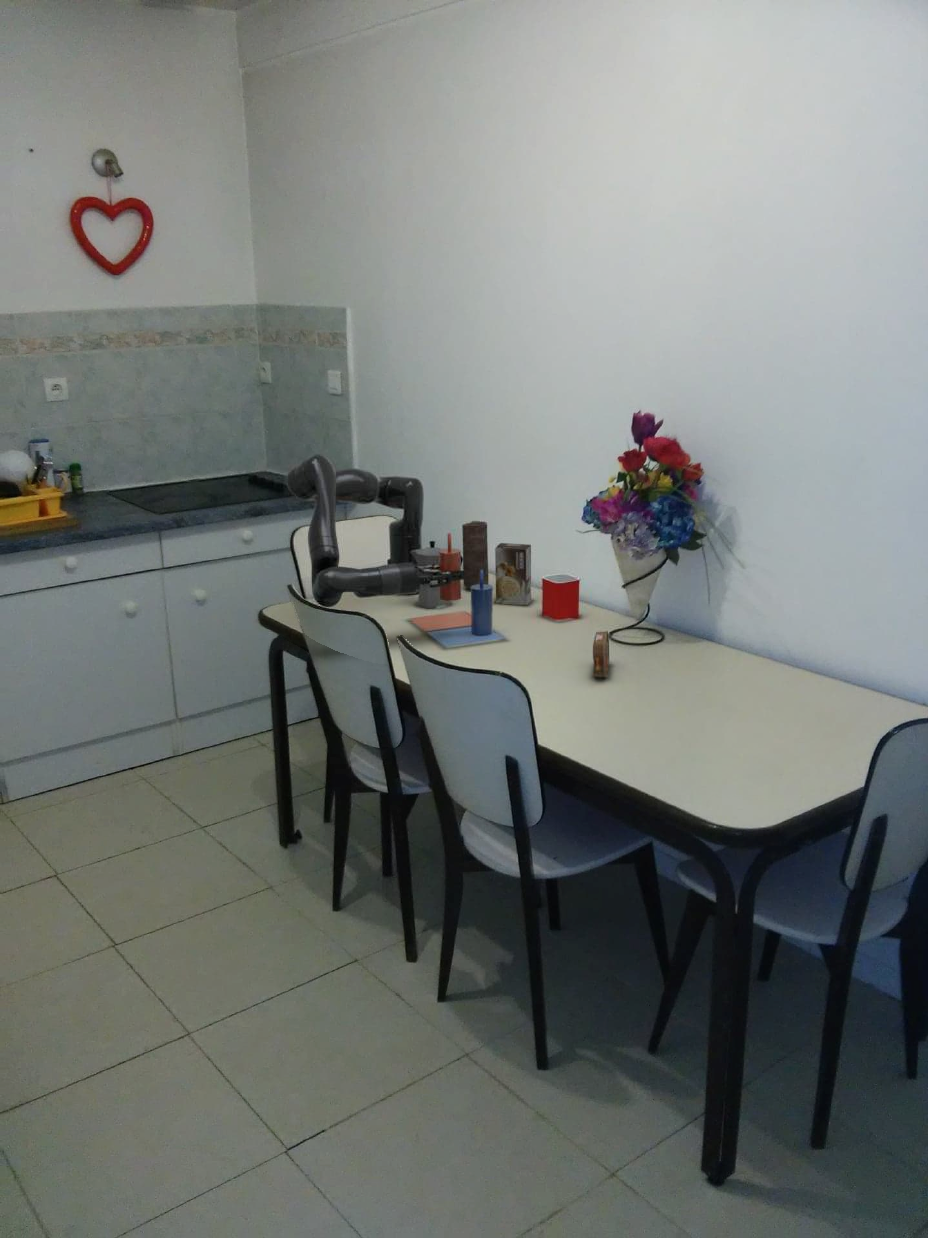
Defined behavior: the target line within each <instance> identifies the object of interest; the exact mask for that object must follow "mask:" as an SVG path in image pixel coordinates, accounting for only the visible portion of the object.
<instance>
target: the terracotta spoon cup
mask: <svg viewBox="0 0 928 1238" xmlns="http://www.w3.org/2000/svg"><path fill="white" fill-rule="evenodd" d="M461 552H462V551H461V549H459V548H452V534H451V532H448V533H447V548H441V550H439V570H441V572H448V571H449V572H451V571H460V570H462V564H461V556H462V555H461V554H462V553H461ZM443 579H446V577H445V578H443ZM439 598H440V599H441V600H445V601H449V602H454V601H459V600H461V599H462V580H455V581H451V584H450V585H445V586H439Z"/></svg>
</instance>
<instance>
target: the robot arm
mask: <svg viewBox="0 0 928 1238" xmlns="http://www.w3.org/2000/svg"><path fill="white" fill-rule="evenodd" d="M285 479H286V480H285V482H286V486H287V488H288V490H289V491H290V493H291V494H292V495H293V496H295V497H296V498H298V499H300V500H303V501H308V502H309V501H310V502H311V501H315V505H314V510H313V513H312V516H311V520H310V523H309V527H308V532H307V544H308V553H309V558H310V559H309V560H310V564H311V571H310V572H311V573H310V574H311V576H310V577H311V593H312V597H313V599H314V600H315V602H316V603H317V604H318V605H320V606H321V607H324V608H332V607H334V606H336V605H338V603H339V602H340V601H341V599H342V597H343V594H344V593H353V594H354V596H356V597H357V598H361V599H362V598H363V599H364V598H374V597H389V596H396V595H397V596H398V595H416V594H419V591H420V584H423V586H429V585H430V588H434V587H439V586H445V585H450V584H451V581H455V580H461V581H463V579H465V572H464V571H463V569H461V570H460V571H451V572H449V571H448V572H441V570H439V565H436V566H435V564H423V565H418V563H417V561H416V560H415V558H414V556H413V555H412V554H411V553H410V552H411V551H412V550H417V549H423V546H422V545H423V544H422V543H423V541H422V539H423V538H422V527H423V523H424V522H423V521H424V502H425V500H424V498H425V497H424V485H423V483H422V482H421V480H420V479H419V478H417V477H409V476H399V475H393V476H392V475H391V476H377V474H376V473H374V472H372V471H369V470H367V469H360V468H352V467H351V468H343V469H338V470H335V466H334V465H333V463H332V462H331V461H330V460H329V458H328V457H326V456H325V455H323V454H320V453H318V454H313V455H311V456H309V457H308V458H307V457H306V459H304V460H302V461H301V462H299V463H298V464H296V465H294V466H293V467H292V468H290V470H289V471H288V472H287V475H286V478H285ZM337 502H340V503H341V502H342V503H349V504H355V505H370V504H373V503H374V504H378V505H381V506H384V507H387V508H389V509H393V510H403V514H402V518H400V519H397V520H394V521H392V522H390V523H389V524H388V535H389V536H388V537H389V558H388V559H387V562H386V563H387V564H383V565H378V566H373V567H372V566H371V567H363V568H356V567H347V566H339V564H340V549H339V542H338V536H337V527H336V516H337V515H336V512H337V511H336V510H337ZM445 577H446V579H443V578H445Z"/></svg>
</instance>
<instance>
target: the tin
mask: <svg viewBox="0 0 928 1238" xmlns="http://www.w3.org/2000/svg"><path fill="white" fill-rule="evenodd" d="M609 638H610V637H609V631H608V630H606V631H596V632H595V635H594V639H593V643H592V659H593V677H594V678H604V679H605V678H607V677H608V671H609V667H610V639H609Z"/></svg>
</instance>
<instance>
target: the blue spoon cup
mask: <svg viewBox="0 0 928 1238" xmlns="http://www.w3.org/2000/svg"><path fill="white" fill-rule="evenodd" d="M470 615H471V633H472V634H473V635H476V636H487V635H491V634H492V633H493V631H494V630H493V626H494V625H493V621H494V620H493V586H492V585H490V584H489V585H486V584H483V570H480V584H477V585H473V586H471V589H470Z"/></svg>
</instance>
